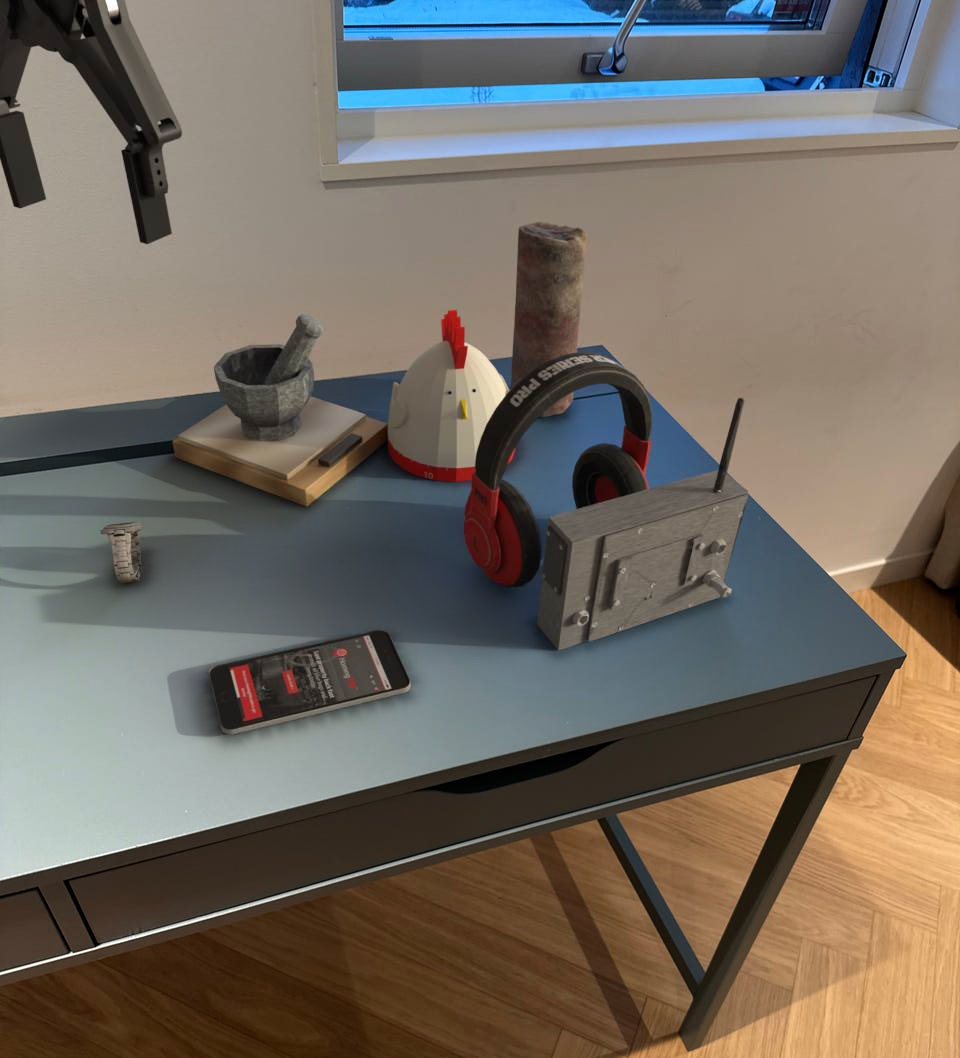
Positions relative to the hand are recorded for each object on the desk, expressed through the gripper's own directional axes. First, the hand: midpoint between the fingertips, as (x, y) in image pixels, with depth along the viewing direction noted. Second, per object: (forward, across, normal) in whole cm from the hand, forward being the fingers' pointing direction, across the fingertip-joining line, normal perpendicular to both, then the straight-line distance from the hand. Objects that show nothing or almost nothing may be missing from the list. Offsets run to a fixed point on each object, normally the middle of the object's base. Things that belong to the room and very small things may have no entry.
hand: (91, 220), depth 75 cm
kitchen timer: (+27, -20, -24) cm, 41 cm away
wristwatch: (+27, -6, +10) cm, 29 cm away
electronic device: (+27, -48, -8) cm, 56 cm away
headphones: (+27, -38, -12) cm, 48 cm away
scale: (+27, -5, -14) cm, 31 cm away
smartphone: (+27, -28, +13) cm, 41 cm away
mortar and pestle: (+24, -4, -14) cm, 28 cm away
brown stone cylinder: (+27, -24, -38) cm, 52 cm away
